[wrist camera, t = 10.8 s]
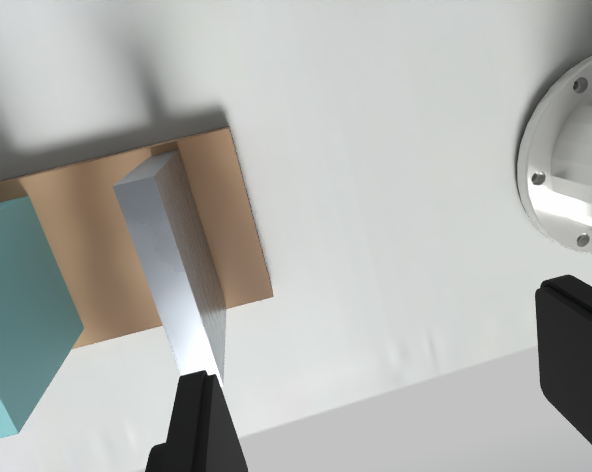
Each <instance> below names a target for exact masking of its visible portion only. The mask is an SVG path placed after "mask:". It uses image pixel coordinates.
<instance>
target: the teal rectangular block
mask: <svg viewBox="0 0 592 472" xmlns="http://www.w3.org/2000/svg"><path fill="white" fill-rule="evenodd" d="M83 330H84V326H83V324H82V321H81V319H80V317H79V314H78V312H77V309H76V307H75V305H74V302H73V300H72V298H71V295H70V293H69V290H68V288H67V286H66V283H65V281H64V278H63V276H62V274H61V271H60V269H59V267H58V264H57V262H56V259H55V257H54V255H53V252H52V250H51V248H50V245H49V243H48V240H47V238H46V236H45V233H44V231H43V228H42V226H41V224H40V221H39V219H38V217H37V214H36V212H35V209H34V207H33V205H32V202H31V200H30V197H29V196H25V197H21V198H16V199H12V200H8V201H4V202H0V438H4V437H7V436H11V435H15V434H18V433H19V432H20V430H21V429H22V427H23V426H24V424H25V422H26V421H27V419H28V418H29V416H30V414H31V413H32V411H33V410H34V408H35V406H36V405H37V403H38V402H39V400H40V398H41V397H42V395H43V394H44V392H45V390H46V389H47V387H48V386H49V384H50V382H51V381H52V379H53V378H54V376H55V374H56V373H57V371H58V370H59V368H60V367H61V365H62V363H63V362H64V360H65V359H66V357H67V355H68V354H69V352H70V351H71V349H72V347H73V346H74V344H75V343H76V341H77V339H78V338H79V336H80V335H81V333H82V331H83Z"/></svg>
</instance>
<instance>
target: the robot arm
mask: <svg viewBox="0 0 592 472" xmlns="http://www.w3.org/2000/svg"><path fill="white" fill-rule="evenodd" d="M517 181H518V188H519V193H520V197H521V201H522V204H523V206H524V208H525V210H526V213H527V215H528V217H529V218H530V219H531V221H532V222H533V223H534V225H535V226H536V227H537V229H538V230H539V231H541V232H542V233H543V234H544V235H546V236H547V237H548V238H549V239H551V240H553V241H555V242H557V243H558V244H560V245H562V246H564V247H566V248H569V249H572V250H574V251H577V252H581V253H589V254H592V56H590V57H588V58H586V59H584V60H583V61H581V62H580V63H578V64H577V65H575V66H574V67H572V68H571V69H570V70H568V71H567V72H566V73H565V74H564V75H563V76H562V77H561V78H560V79H559V80H558V81H556V82H555V83H554V84H553V85H552V86H551V87H550V89H549V90H548V91H547V93H546V94H545V96H544V97H543V98H542V100H541V101H540V102H539V104H538V105H537V107H536V109H535V111H534V112H533V114H532V116H531V118H530V120H529V122H528V124H527V127H526V130H525V132H524V135H523V138H522V141H521V144H520V150H519V156H518V163H517ZM535 301H536V319H537V337H538V353H539V371H540V385H541V389H542V391H543V394H544V395H545V397H546V398H547V399H548V401H549V402H550V403H551V404H552V405H553V406H554V407H555V408H556V409H557V410H558V411H559V412H560V413H561V414H562V415H563V416H564V417H565V418H566V419H567V420H568V421H569V422H570V423H571V424H572V425H573V426H574V427H575V428H576V429H577V430H578V431H579V432H580V433H581V434H582V435H583V436H584V437H585V438H586V439H587V440H588V441H589V442H590V443H591V444H592V287H591V286H590V285H588V284H586V283H584V282H583V281H581V280H579V279H577V278H576V277H574V276H571V275H564V276H560V277H556V278H553V279H549V280H545V281H543V282H542V284H541V286H540V288H539V289H537V290H536V293H535ZM145 472H248V468H247V465H246V461H245V458H244V456H243V452H242V449H241V446H240V443H239V440H238V437H237V434H236V431H235V428H234V425H233V422H232V419H231V416H230V413H229V410H228V407H227V404H226V401H225V398H224V395H223V392H222V389H221V386H220V383H219V380H218V377H217V375H216V374H212V375H208V373H207V371H206V370H201V371H197V372H194V373H190V374H186V375H182V376H180V378H179V382H178V387H177V392H176V397H175V402H174V406H173V411H172V416H171V421H170V426H169V431H168V436H167V441H166V443H162V444H159V445H155V446H154V447H153V448H152V449H151V451H150V454H149V458H148V462H147V466H146V470H145Z"/></svg>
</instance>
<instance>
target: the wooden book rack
mask: <svg viewBox="0 0 592 472" xmlns="http://www.w3.org/2000/svg"><path fill="white" fill-rule="evenodd" d="M177 149H179V151H180V155H181V158H182V161H183V164H184V168H185V171H186V174H187V178H188V181H189V184H190V187H191V191H192V194H193V197H194V200H195V204H196V207H197V210H198V214H199V217H200V220H201V223H202V227H203V230H204V233H205V237H206V240H207V243H208V246H209V250H210V253H211V256H212V259H213V263H214V266H215V269H216V273H217V276H218V279H219V282H220V286H221V289H222V292H223V295H224V299H225V302H226V309H228V308H232V307H236V306H240V305H244V304H247V303H251V302H255V301H259V300H263V299H267V298H271V297H274V296H273V291H272V286H271V282H270V278H269V274H268V271H267V267H266V263H265V259H264V256H263V252H262V248H261V244H260V240H259V237H258V233H257V229H256V225H255V222H254V218H253V214H252V210H251V206H250V203H249V199H248V195H247V191H246V188H245V184H244V180H243V176H242V173H241V169H240V165H239V161H238V157H237V154H236V150H235V146H234V142H233V139H232V135H231V131H230V127H229V126H228V127H224V128H220V129H215V130H211V131H207V132H203V133H199V134H195V135H190V136H186V137H182V138H178V139H174V140H170V141H165V142H161V143H157V144H153V145H149V146H145V147H140V148H136V149H132V150H128V151H124V152H120V153H115V154H111V155H107V156H103V157H99V158H95V159H90V160H86V161H82V162H78V163H74V164H70V165H65V166H61V167H57V168H53V169H49V170H45V171H40V172H36V173H32V174H28V175H24V176H20V177H15V178H11V179H7V180H3V181H0V202H4V201H8V200H12V199H16V198H21V197H25V196H29V197H30V200H31V202H32V205H33V207H34V209H35V212H36V214H37V217H38V219H39V221H40V224H41V226H42V228H43V231H44V233H45V236H46V238H47V240H48V243H49V245H50V248H51V250H52V252H53V255H54V257H55V259H56V262H57V264H58V267H59V269H60V271H61V274H62V276H63V278H64V281H65V283H66V286H67V288H68V290H69V293H70V295H71V298H72V300H73V302H74V305H75V307H76V309H77V312H78V314H79V317H80V319H81V321H82V324H83V326H84V330H83V331H82V333H81V335H80V336H79V338H78V339H77V341H76V343H75V344H74V346H73V347H72V349H74V348H78V347H82V346H86V345H90V344H94V343H97V342H101V341H105V340H109V339H113V338H117V337H121V336H124V335H128V334H132V333H136V332H140V331H144V330H147V329H151V328H155V327H159V326H163V324H162V321H161V319H160V316H159V313H158V310H157V308H156V305H155V302H154V299H153V297H152V294H151V291H150V288H149V286H148V283H147V280H146V277H145V275H144V272H143V269H142V266H141V264H140V261H139V258H138V255H137V253H136V250H135V247H134V244H133V242H132V239H131V236H130V233H129V231H128V228H127V225H126V222H125V220H124V217H123V214H122V211H121V208H120V206H119V203H118V200H117V197H116V195H115V192H114V189H113V185H115V184H116V183H117V182H118V181H120V180H121V179H122V178H123V177H125V176H126V175H127V174H128V173H130V172H131V171H132V170H133V169H135V168H136V167H137V166H138V165H140V164H141V163H142V162H143V161H145V160H146V159H147V158H148V157H150V156H152V155H157V154H161V153H165V152H169V151H173V150H177Z"/></svg>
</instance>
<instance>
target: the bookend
mask: <svg viewBox="0 0 592 472" xmlns="http://www.w3.org/2000/svg"><path fill="white" fill-rule="evenodd" d="M113 189H114V192H115V195H116V197H117V200H118V203H119V206H120V208H121V211H122V214H123V217H124V220H125V222H126V225H127V228H128V231H129V233H130V236H131V239H132V242H133V244H134V247H135V250H136V253H137V255H138V258H139V261H140V264H141V266H142V269H143V272H144V275H145V277H146V280H147V283H148V286H149V288H150V291H151V294H152V297H153V299H154V302H155V305H156V308H157V310H158V313H159V316H160V319H161V321H162V324H163V327H164V330H165V333H166V335H167V338H168V341H169V344H170V346H171V349H172V352H173V355H174V357H175V360H176V363H177V366H178V368H179V371H180V374H181V376H182V375H186V374H190V373H194V372H197V371H201V370H206V371H207V373H208V375H212V374H216V375H217V377H218V380H219V383H220V386H223V376H224V352H225V327H226V302H225V299H224V295H223V292H222V289H221V286H220V282H219V279H218V276H217V273H216V269H215V266H214V263H213V259H212V256H211V253H210V250H209V246H208V243H207V240H206V237H205V233H204V230H203V227H202V223H201V220H200V217H199V214H198V210H197V207H196V204H195V200H194V197H193V194H192V191H191V187H190V184H189V181H188V178H187V174H186V171H185V168H184V164H183V161H182V158H181V155H180V151H179V149H177V150H173V151H169V152H165V153H161V154H157V155H152V156H150V157H148V158H147V159H146V160H145V161H143V162H142V163H141V164H140V165H138V166H137V167H136V168H135V169H133V170H132V171H131V172H130V173H128V174H127V175H126V176H125V177H123V178H122V179H121V180H120V181H118V182H117V183H116V184H115V185H113Z"/></svg>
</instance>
